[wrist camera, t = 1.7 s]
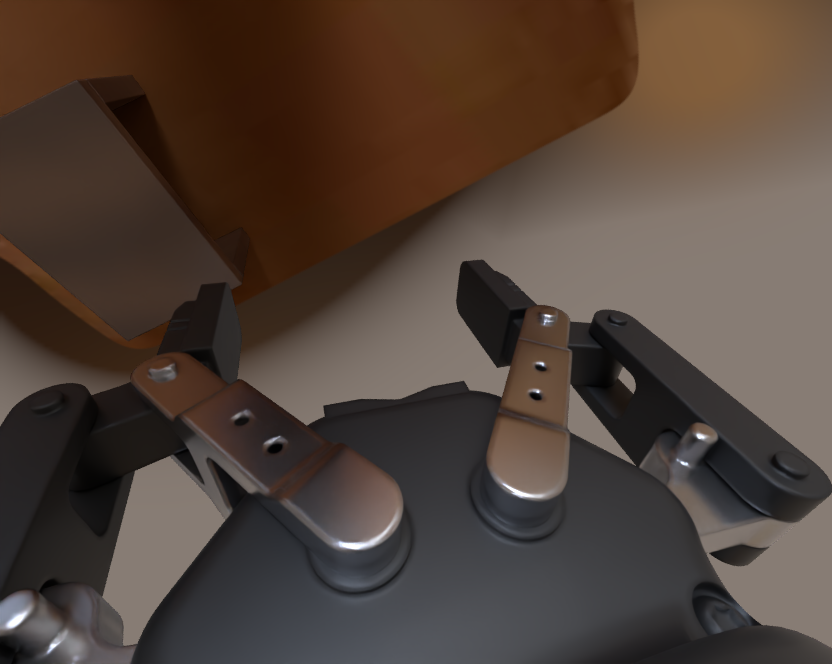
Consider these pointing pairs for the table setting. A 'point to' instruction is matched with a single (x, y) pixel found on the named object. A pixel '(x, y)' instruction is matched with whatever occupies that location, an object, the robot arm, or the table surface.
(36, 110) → the shelf
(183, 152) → the table surface
